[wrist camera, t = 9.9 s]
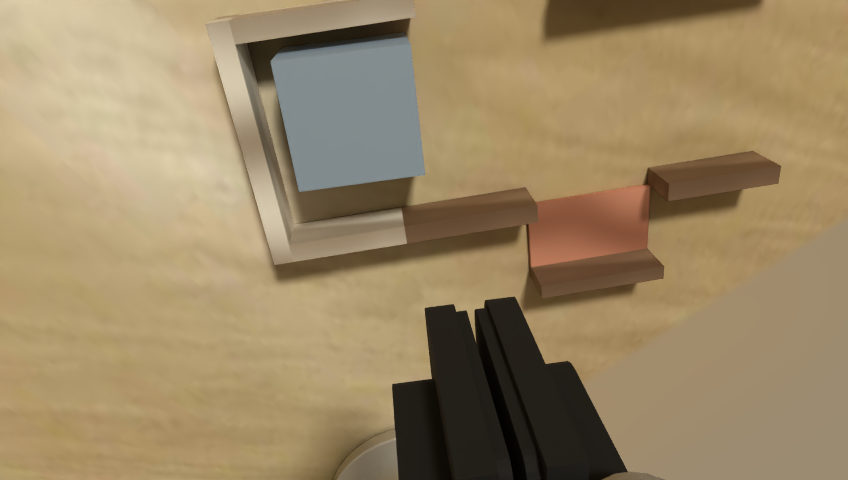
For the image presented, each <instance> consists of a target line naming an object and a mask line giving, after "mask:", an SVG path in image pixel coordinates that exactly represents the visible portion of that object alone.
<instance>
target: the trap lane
mask: <svg viewBox="0 0 848 480" xmlns="http://www.w3.org/2000/svg"><path fill="white" fill-rule="evenodd" d="M413 17H416V15H415V7H414V0H331V1H325V2H318V3H311V4H305V5H298V6H292V7H285V8H278V9H272V10H265V11H259V12H252V13H246V14H239V15H232V16H226V17H219V18H216V19H214V20H213V21H211V22H209V23H207V24H206V28H207V31H208V35H209V38H210V42H211V45H212V49H213V52H214V56H215V59H216V63H217V66H218V70H219V73H220V77H221V80H222V84H223V87H224V91H225V94H226V98H227V101H228V105H229V108H230V112H231V115H232V119H233V122H234V126H235V129H236V133H237V136H238V140H239V143H240V146H241V150H242V153H243V157H244V160H245V164H246V167H247V171H248V174H249V178H250V181H251V185H252V188H253V192H254V195H255V199H256V202H257V206H258V209H259V213H260V216H261V220H262V223H263V227H264V230H265V234H266V237H267V241H268V244H269V248H270V251H271V255H272V258H273V262H274V265H278V264H284V263H290V262H297V261H303V260H309V259H315V258H321V257H327V256H334V255H340V254H346V253H352V252H358V251H364V250H371V249H377V248H383V247H389V246H395V245H402V244H408V243H414V242H420V241H426V240H432V239H439V238H445V237H451V236H457V235H463V234H470V233H476V232H482V231H488V230H494V229H500V228H507V227H513V226H519V225H525V224H528V238H529V255H530V272H531V278H532V280H533V282H534V284H535V286H536V288H537V290H538V292H539V294H540V296H541V298H548V297H554V296H560V295H566V294H572V293H578V292H585V291H591V290H597V289H603V288H609V287H615V286H621V285H627V284H633V283H639V282H645V281H651V280H657V279H663V276H664V266H663V265H662V264H661V263H660V261H659V260H658V259H657V258H656V257H655V256H654V255H653V254H652V253H651V252H650V251H649V250H648V249H647V243H648V221H649V199H650V187H652V188H653V189H654V190H655V191H656V192H658V193H659V194H660V195H661V196H662V197H664V198H665V199H666V200H667V201H674V200H680V199H686V198H692V197H698V196H704V195H711V194H717V193H723V192H729V191H735V190H742V189H748V188H754V187H760V186H766V185H772V184H778V183H779V176H780V169H781V166H780V165H778V164H776V163H775V162H773V161H771V160H769V159H767V158H765V157H763V156H761V155H759V154H758V153H756V152H754V151H750V152H744V153H738V154H731V155H725V156H719V157H713V158H706V159H700V160H694V161H688V162H681V163H675V164H669V165H663V166H657V167H650V168H649V169H648V184H646V185H640V186H634V187H628V188H622V189H615V190H609V191H603V192H597V193H591V194H584V195H578V196H572V197H566V198H560V199H553V200H547V201H541V202H535V201H534V199H533V198H532V196H531V195H530V193H529V192H528V190H527V189H526V188H519V189H513V190H507V191H501V192H494V193H488V194H482V195H476V196H469V197H463V198H457V199H451V200H444V201H438V202H432V203H426V204H420V205H413V206H407V207H401V208H395V209H388V210H382V211H376V212H370V213H363V214H357V215H351V216H345V217H338V218H332V219H326V220H320V221H313V222H307V223H301V224H295V225H294V223H293V219H292V215H291V211H290V207H289V203H288V200H287V196H286V192H285V188H284V184H283V180H282V177H281V173H280V169H279V165H278V161H277V157H276V153H275V150H274V146H273V142H272V138H271V134H270V130H269V126H268V123H267V119H266V115H265V111H264V107H263V103H262V100H261V96H260V92H259V88H258V84H257V80H256V76H255V73H254V69H253V65H252V61H251V57H250V53H249V50H248V46H247V43H249V42H256V41H262V40H269V39H275V38H282V37H288V36H295V35H301V34H308V33H314V32H321V31H327V30H334V29H341V28H347V27H354V26H360V25H367V24H373V23H380V22H386V21H393V20H399V19H406V18H413Z"/></svg>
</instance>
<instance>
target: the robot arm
mask: <svg viewBox="0 0 848 480" xmlns="http://www.w3.org/2000/svg"><path fill="white" fill-rule="evenodd" d="M425 317H426V327H427V336H428V346H429V356H430V365H431V375H432V379H428V380H420V381H413V382H405V383H397V384H392V390H393V406H394V421H395V429H394V430H391V431H387V432H384V433H382V434H380V435H378V436H375V437H373V438H371V439H369V440H368V441H366V442H365V443H363V444H362V445H360V446H359V447H357V448H356V449H355V450H354V451H353V452H352V453H351V454H350V455H348V456H347V457H346V458H345V460H344V461H343V463H342V464H341V465H340V467H339V468H338V470H337V472H336V475H335V477H334V480H664V479H662V478H659V477H655V476H653V475H650V474H646V473H637V472H628V471H627V469H626V467H625V465H624V463H623V461H622V460H621V458H620V456H619V454H618V452H617V450H616V448H615V446H614V444H613V442H612V440H611V438H610V436H609V434H608V432H607V431H606V429H605V427H604V425H603V423H602V421H601V419H600V417H599V415H598V413H597V411H596V409H595V407H594V405H593V403H592V401H591V400H590V398H589V396H588V394H587V392H586V390H585V388H584V386H583V384H582V382H581V380H580V378H579V376H578V374H577V372H576V370H575V368H574V367H573V365H572V364H571V363H570V362H568V361H565V362H558V363H550V364H545V362H544V360H543V357H542V355H541V353H540V351H539V348H538V346H537V344H536V342H535V339H534V337H533V335H532V333H531V331H530V328H529V326H528V324H527V322H526V319H525V317H524V315H523V313H522V311H521V308H520V306H519V304H518V302H517V300H516V298H515V297H507V298H499V299H491V300H485V304H484V308H482V309H475V330H476V341H475V338H474V334H473V331H472V328H471V324H470V321H469V317H468V314H467V311H458V312H456V310H455V306H454V304H452V305H444V306H436V307H428V308H425Z"/></svg>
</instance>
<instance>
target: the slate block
mask: <svg viewBox="0 0 848 480" xmlns="http://www.w3.org/2000/svg"><path fill="white" fill-rule="evenodd" d="M271 67H272V71H273V76H274V80H275V85H276V89H277V94H278V98H279V103H280V108H281V112H282V117H283V121H284V126H285V130H286V135H287V139H288V144H289V149H290V153H291V158H292V162H293V167H294V171H295V176H296V180H297V185H298V190H299V192H303V191H310V190H318V189H325V188H332V187H340V186H347V185H355V184H362V183H369V182H377V181H384V180H392V179H399V178H406V177H414V176H421V175H425V168H424V159H423V151H422V142H421V133H420V124H419V115H418V106H417V97H416V88H415V80H414V71H413V62H412V53H411V44H410V42H409V40H408V38H407V36H406V34H405V32H403V33H395V34H387V35H379V36H371V37H363V38H355V39H347V40H339V41H331V42H323V43H315V44H307V45H299V46H291V47H283V48H281V49H280V50H279V51H278V53H277V54H276V55H275V56H274V58H273V59H272V60H271Z"/></svg>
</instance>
